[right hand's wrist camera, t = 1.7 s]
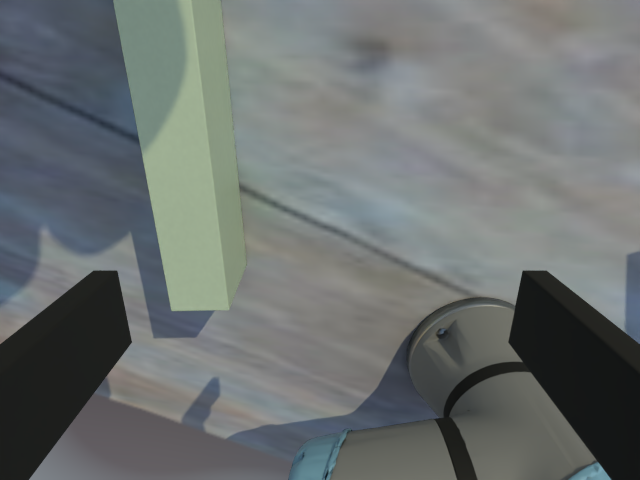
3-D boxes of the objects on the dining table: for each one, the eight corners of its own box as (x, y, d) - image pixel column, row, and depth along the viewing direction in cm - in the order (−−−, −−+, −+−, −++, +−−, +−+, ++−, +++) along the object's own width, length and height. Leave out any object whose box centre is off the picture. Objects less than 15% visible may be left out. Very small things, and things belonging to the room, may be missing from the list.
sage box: (246, 264, 42) (229, 310, 33) (200, 265, 42) (170, 311, 33) (213, -81, 31) (173, -142, 22) (149, -80, 31) (85, -140, 22)
